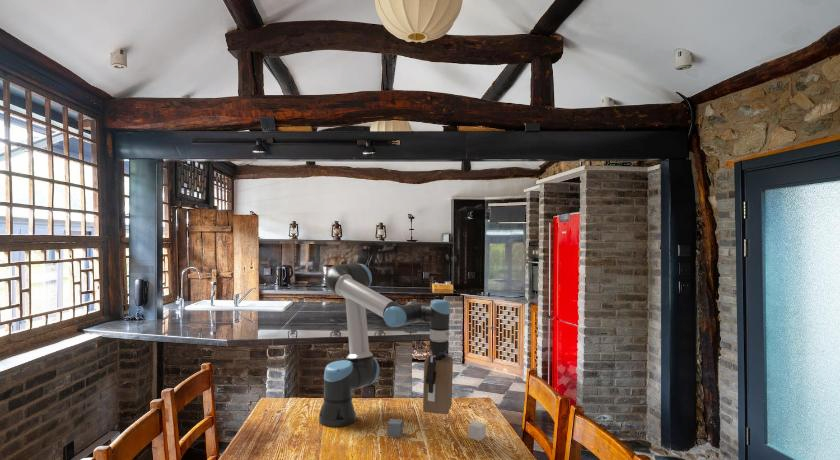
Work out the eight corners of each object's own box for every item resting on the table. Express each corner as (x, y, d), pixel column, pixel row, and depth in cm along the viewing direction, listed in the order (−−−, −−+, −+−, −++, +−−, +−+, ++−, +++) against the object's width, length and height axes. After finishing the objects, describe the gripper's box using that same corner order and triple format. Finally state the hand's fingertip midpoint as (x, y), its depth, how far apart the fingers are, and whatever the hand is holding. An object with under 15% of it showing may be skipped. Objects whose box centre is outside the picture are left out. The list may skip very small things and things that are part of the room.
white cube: (468, 437, 186) (468, 424, 186) (474, 433, 190) (474, 420, 190) (479, 441, 183) (479, 427, 183) (485, 436, 187) (486, 423, 187)
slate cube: (387, 436, 186) (387, 423, 186) (390, 431, 191) (390, 418, 191) (399, 437, 185) (399, 424, 185) (402, 432, 190) (402, 419, 190)
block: (448, 415, 182) (449, 362, 182) (422, 412, 184) (423, 360, 184) (451, 406, 192) (453, 356, 192) (427, 404, 194) (428, 354, 194)
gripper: (435, 347, 176) (433, 407, 176) (459, 335, 197) (457, 389, 197) (417, 344, 179) (415, 403, 179) (442, 333, 200) (441, 386, 200)
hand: (437, 396), depth 188 cm, fingers closed on block, 11 cm apart
